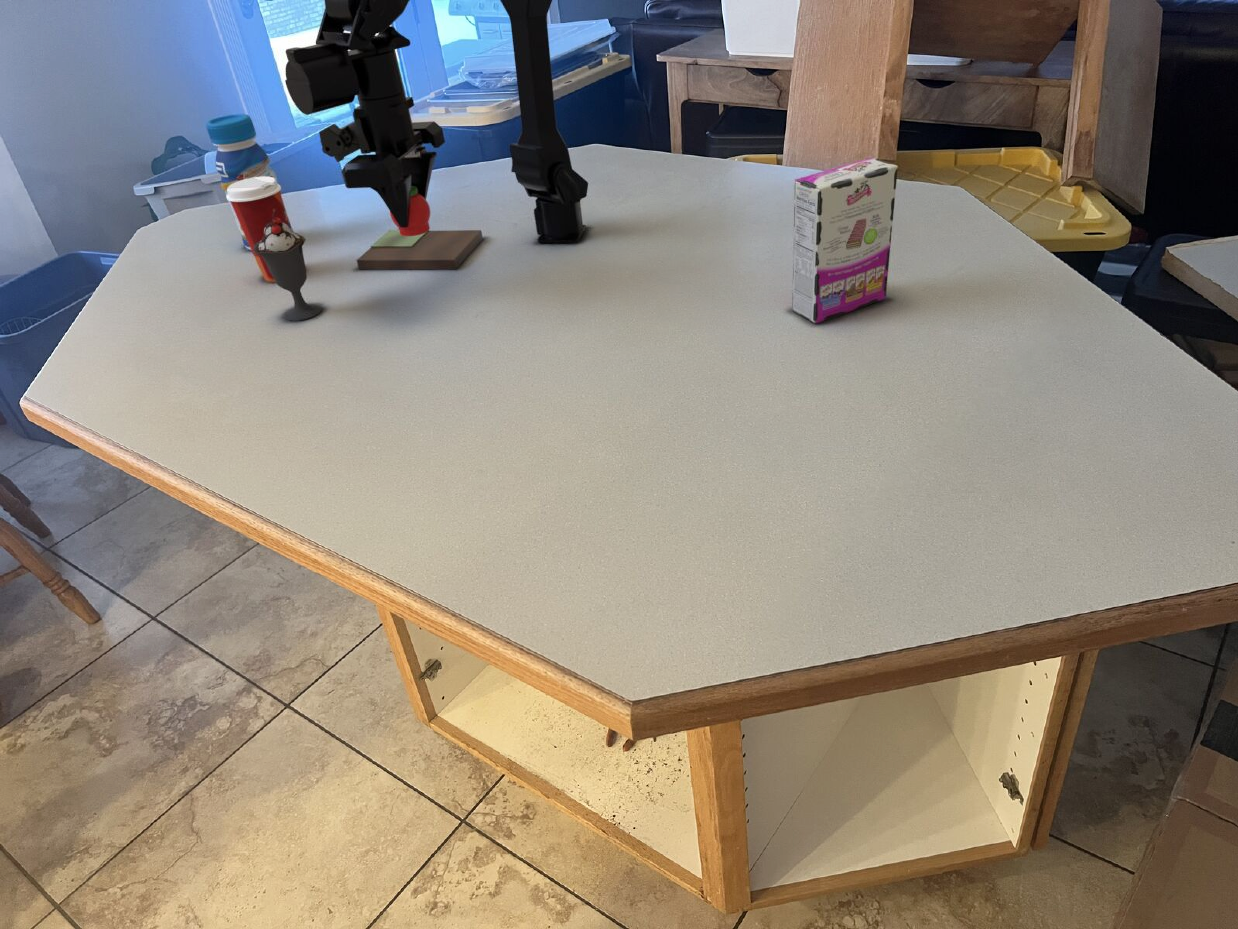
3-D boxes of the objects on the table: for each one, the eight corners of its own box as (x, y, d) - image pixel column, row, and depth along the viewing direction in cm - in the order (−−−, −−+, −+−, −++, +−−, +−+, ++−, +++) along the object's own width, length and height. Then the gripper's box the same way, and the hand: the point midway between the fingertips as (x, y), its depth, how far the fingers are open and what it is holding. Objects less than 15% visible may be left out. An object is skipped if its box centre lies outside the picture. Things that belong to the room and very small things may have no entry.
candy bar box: (859, 286, 105) (871, 155, 96) (886, 300, 102) (901, 164, 92) (788, 310, 102) (793, 176, 92) (814, 325, 98) (821, 187, 88)
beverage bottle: (292, 230, 144) (252, 108, 132) (299, 244, 137) (258, 118, 125) (242, 241, 141) (197, 118, 129) (247, 256, 135) (199, 129, 123)
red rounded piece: (439, 222, 112) (430, 182, 108) (425, 237, 108) (415, 195, 104) (404, 223, 113) (394, 183, 109) (389, 238, 109) (378, 197, 105)
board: (483, 238, 132) (481, 228, 131) (456, 269, 122) (453, 258, 121) (391, 239, 135) (389, 229, 134) (358, 269, 126) (355, 258, 125)
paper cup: (318, 266, 128) (289, 176, 120) (283, 287, 123) (250, 193, 114) (281, 262, 131) (250, 173, 123) (245, 282, 126) (210, 190, 117)
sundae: (313, 324, 111) (276, 215, 102) (269, 323, 112) (229, 215, 104) (336, 302, 116) (303, 197, 107) (294, 302, 118) (257, 198, 109)
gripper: (354, 80, 109) (385, 197, 118) (283, 118, 94) (325, 247, 104) (432, 75, 107) (457, 194, 116) (371, 113, 92) (406, 246, 101)
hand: (412, 219), depth 109 cm, fingers closed on red rounded piece, 5 cm apart
